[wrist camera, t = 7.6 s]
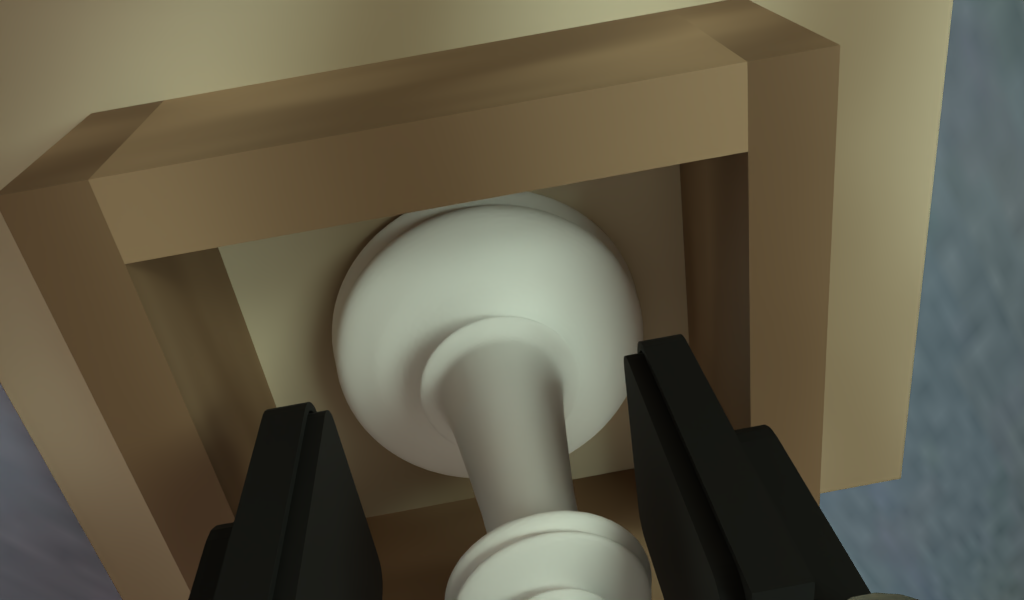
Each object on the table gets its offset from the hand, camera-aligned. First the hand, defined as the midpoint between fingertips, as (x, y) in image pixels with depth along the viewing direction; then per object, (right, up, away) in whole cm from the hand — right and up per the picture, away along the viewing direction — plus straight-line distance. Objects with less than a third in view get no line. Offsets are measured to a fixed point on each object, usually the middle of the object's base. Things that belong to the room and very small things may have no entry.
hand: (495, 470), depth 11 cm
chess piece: (0, +2, +3) cm, 3 cm away
